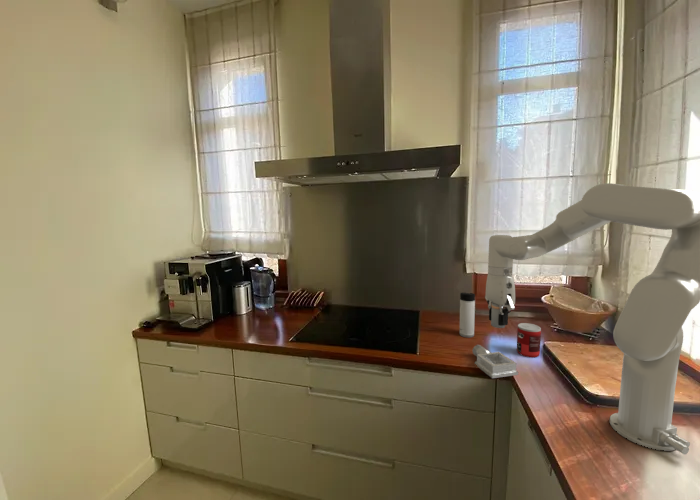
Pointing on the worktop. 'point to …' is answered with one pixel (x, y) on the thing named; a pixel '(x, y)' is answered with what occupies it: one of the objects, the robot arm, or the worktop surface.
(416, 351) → the worktop surface
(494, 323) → the canister
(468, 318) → the travel mug
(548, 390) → the worktop surface
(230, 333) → the worktop surface
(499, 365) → the fitting
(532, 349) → the canned food
